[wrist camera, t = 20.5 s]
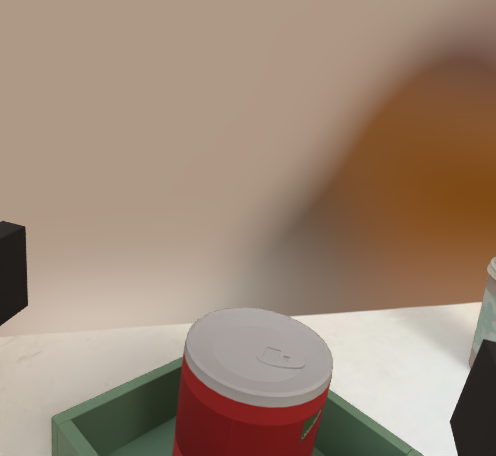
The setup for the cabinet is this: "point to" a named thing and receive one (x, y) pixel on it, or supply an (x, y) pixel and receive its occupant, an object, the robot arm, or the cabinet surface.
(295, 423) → the canned food
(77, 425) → the tote
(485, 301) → the coffee cup
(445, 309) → the cabinet surface
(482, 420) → the robot arm
